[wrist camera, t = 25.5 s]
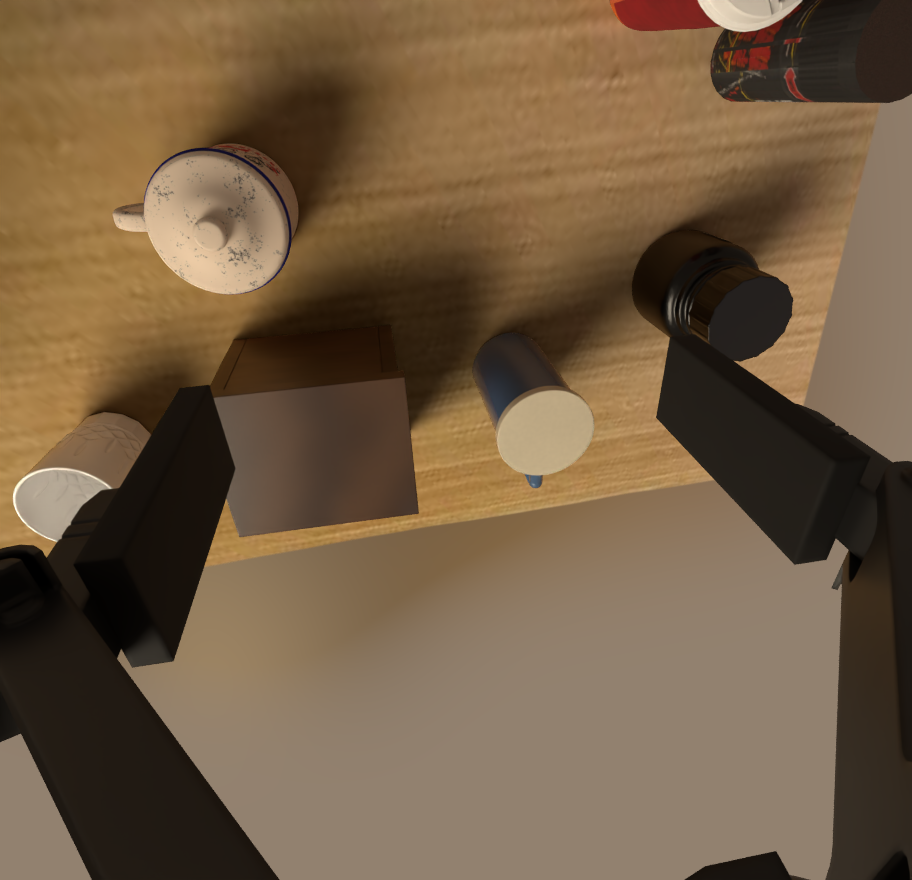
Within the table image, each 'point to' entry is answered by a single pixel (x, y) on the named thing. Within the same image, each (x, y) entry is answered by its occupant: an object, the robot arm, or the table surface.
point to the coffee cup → (701, 13)
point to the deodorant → (820, 55)
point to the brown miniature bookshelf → (316, 430)
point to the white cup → (78, 471)
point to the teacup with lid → (218, 217)
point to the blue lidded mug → (531, 407)
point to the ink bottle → (711, 294)
